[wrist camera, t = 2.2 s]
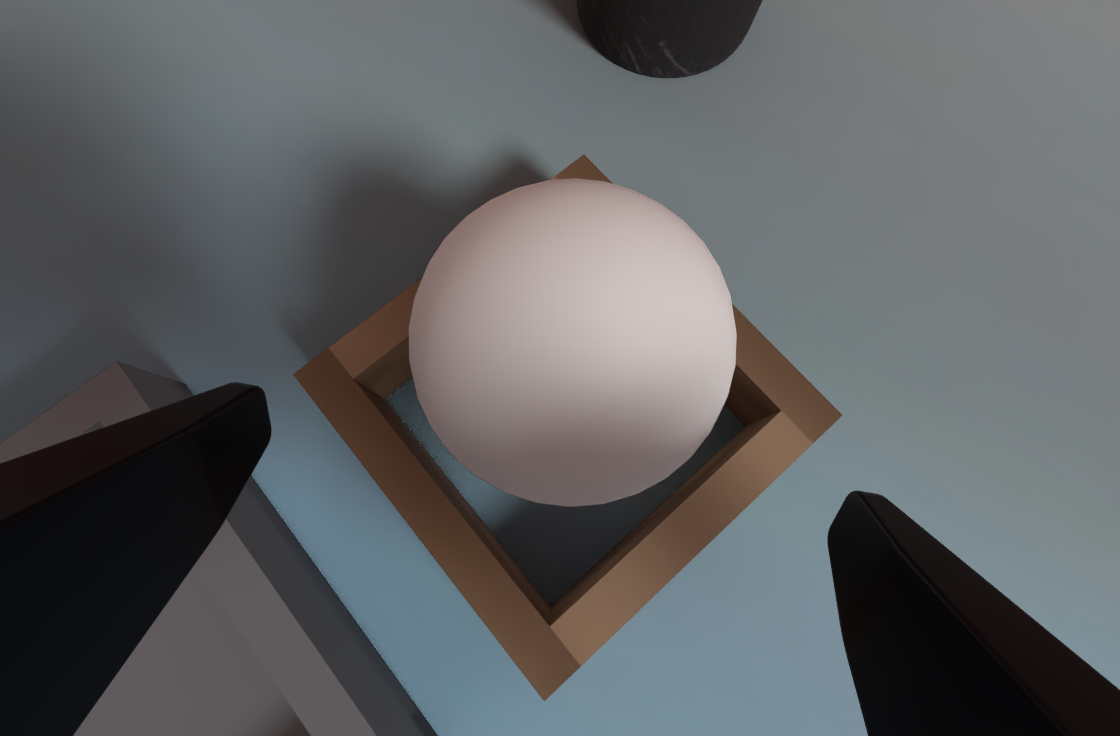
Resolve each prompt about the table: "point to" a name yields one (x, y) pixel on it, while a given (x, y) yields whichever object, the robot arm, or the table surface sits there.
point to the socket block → (631, 566)
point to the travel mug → (667, 32)
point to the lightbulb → (572, 342)
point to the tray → (233, 617)
